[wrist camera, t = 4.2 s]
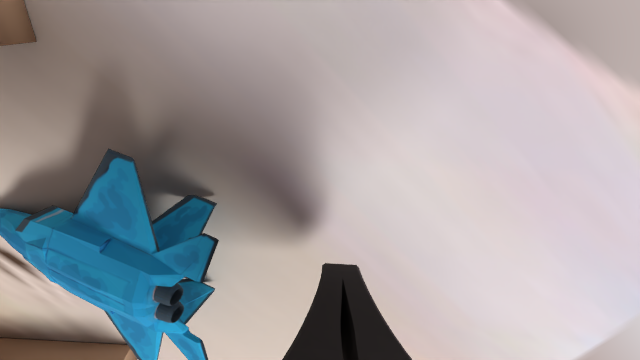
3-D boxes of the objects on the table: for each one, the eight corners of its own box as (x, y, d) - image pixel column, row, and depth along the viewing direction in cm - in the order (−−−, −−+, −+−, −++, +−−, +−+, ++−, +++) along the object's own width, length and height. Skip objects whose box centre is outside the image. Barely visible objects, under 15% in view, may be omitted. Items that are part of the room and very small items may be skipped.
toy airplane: (197, 101, 12) (139, 139, 9) (309, 280, 16) (302, 359, 13) (-14, 207, 15) (-129, 271, 11) (126, 340, 19) (75, 421, 15)
